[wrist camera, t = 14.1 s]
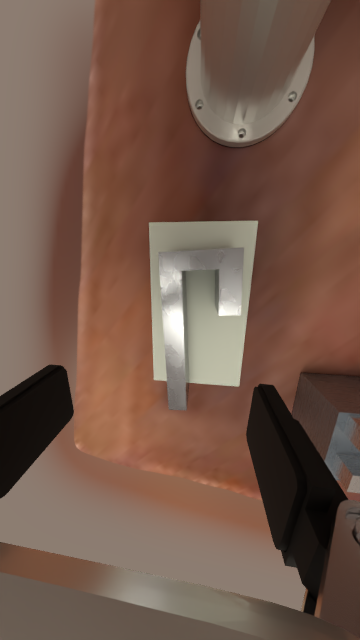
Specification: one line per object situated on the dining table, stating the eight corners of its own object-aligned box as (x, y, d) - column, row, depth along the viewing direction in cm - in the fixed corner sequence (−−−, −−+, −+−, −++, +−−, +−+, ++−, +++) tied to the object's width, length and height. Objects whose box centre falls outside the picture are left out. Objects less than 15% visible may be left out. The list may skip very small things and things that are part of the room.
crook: (168, 256, 25) (158, 252, 19) (233, 252, 24) (244, 247, 18) (175, 382, 30) (168, 409, 24) (228, 384, 29) (235, 412, 23)
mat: (149, 223, 24) (148, 222, 24) (257, 221, 23) (258, 220, 22) (154, 378, 31) (153, 379, 30) (238, 384, 29) (239, 386, 29)
